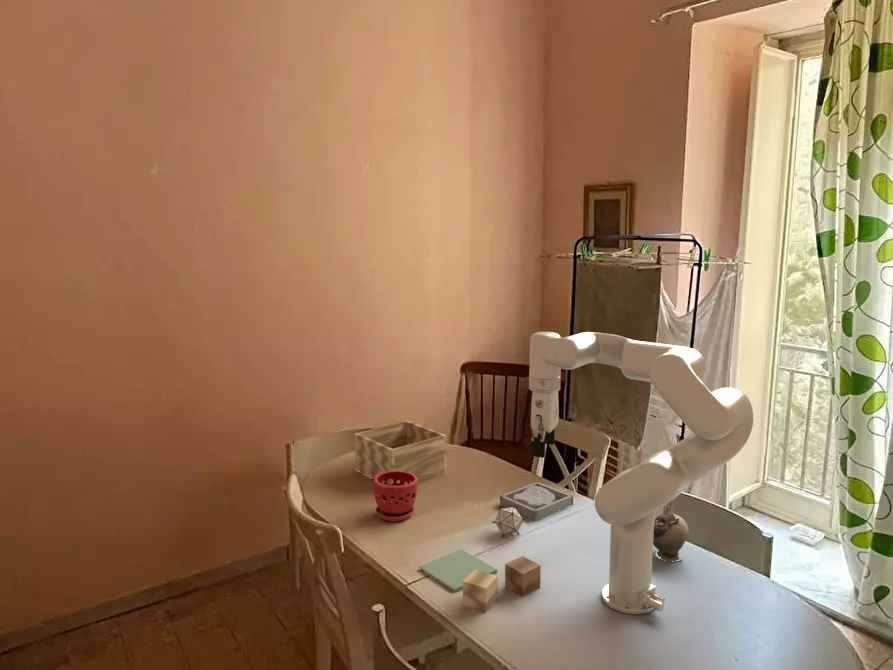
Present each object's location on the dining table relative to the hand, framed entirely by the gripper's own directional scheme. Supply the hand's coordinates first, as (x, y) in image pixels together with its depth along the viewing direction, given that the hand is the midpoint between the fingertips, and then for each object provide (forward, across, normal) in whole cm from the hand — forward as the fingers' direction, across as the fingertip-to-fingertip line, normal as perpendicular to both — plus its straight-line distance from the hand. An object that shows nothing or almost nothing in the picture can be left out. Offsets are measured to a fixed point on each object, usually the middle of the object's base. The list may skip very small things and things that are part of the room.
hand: (543, 450), depth 165 cm
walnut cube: (+32, -11, +2) cm, 33 cm away
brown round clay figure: (+32, +18, -30) cm, 47 cm away
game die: (+32, +15, +13) cm, 38 cm away
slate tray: (+32, +36, +10) cm, 49 cm away
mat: (+32, -9, +19) cm, 38 cm away
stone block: (+32, +36, +11) cm, 50 cm away
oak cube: (+32, -20, +9) cm, 39 cm away
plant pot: (+32, +14, +48) cm, 60 cm away
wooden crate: (+32, +46, +62) cm, 84 cm away
